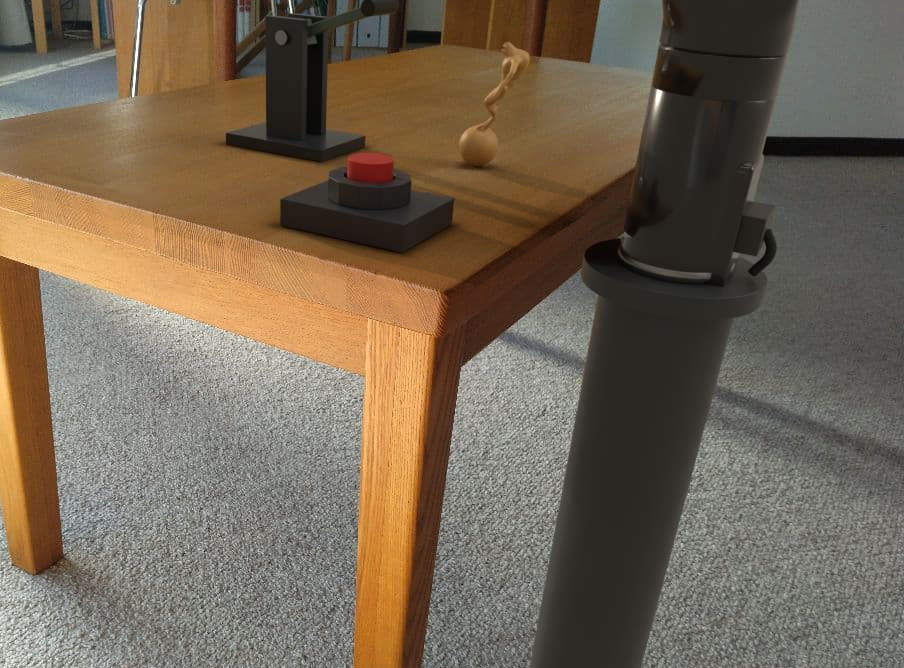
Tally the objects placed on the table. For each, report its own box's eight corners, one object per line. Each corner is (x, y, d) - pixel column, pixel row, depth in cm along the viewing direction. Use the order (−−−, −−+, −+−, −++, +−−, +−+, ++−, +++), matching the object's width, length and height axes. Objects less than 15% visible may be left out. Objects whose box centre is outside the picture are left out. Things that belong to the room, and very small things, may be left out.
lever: (402, 15, 87) (396, -11, 86) (377, 18, 83) (371, -9, 83) (303, 49, 94) (296, 25, 93) (276, 53, 90) (269, 28, 89)
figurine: (462, 154, 96) (474, 34, 90) (518, 160, 95) (534, 39, 89) (451, 173, 89) (464, 43, 83) (512, 179, 88) (529, 48, 82)
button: (400, 179, 71) (401, 157, 70) (378, 189, 68) (380, 166, 68) (361, 172, 73) (362, 150, 72) (338, 181, 70) (339, 158, 69)
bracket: (365, 146, 97) (371, 19, 91) (321, 162, 90) (324, 25, 84) (273, 130, 102) (273, 8, 96) (225, 144, 95) (222, 13, 89)
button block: (452, 224, 74) (456, 176, 72) (402, 253, 67) (406, 200, 65) (337, 200, 78) (339, 154, 76) (279, 225, 71) (279, 175, 69)
